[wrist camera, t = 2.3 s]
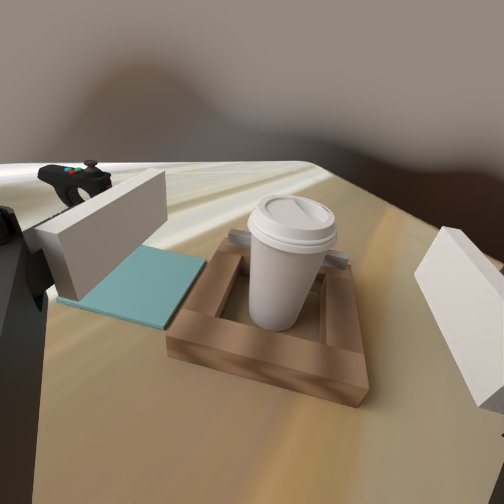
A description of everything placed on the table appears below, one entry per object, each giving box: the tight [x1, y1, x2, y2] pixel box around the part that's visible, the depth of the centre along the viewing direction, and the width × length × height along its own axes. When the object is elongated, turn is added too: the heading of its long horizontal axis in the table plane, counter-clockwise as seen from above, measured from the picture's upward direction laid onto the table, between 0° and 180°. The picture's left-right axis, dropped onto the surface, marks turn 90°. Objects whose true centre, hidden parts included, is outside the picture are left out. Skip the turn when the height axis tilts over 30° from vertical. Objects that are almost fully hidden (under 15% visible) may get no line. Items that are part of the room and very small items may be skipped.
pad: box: [56, 245, 206, 330], centre depth 38 cm, size 14×14×1 cm
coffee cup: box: [248, 195, 337, 332], centre depth 32 cm, size 10×10×15 cm
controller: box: [37, 160, 112, 208], centre depth 49 cm, size 4×12×10 cm, turn 83°
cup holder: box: [166, 229, 369, 408], centre depth 35 cm, size 20×20×6 cm
